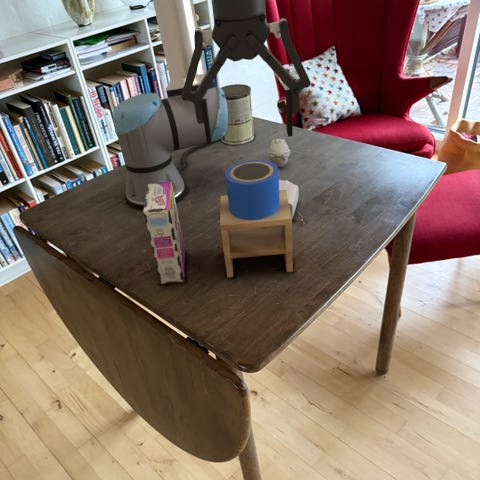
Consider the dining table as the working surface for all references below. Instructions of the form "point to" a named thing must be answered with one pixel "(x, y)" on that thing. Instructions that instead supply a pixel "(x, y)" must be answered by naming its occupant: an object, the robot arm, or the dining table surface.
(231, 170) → the tape roll
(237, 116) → the coffee can
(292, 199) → the charger
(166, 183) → the candy bar box
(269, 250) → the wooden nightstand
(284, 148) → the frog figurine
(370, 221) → the dining table surface
